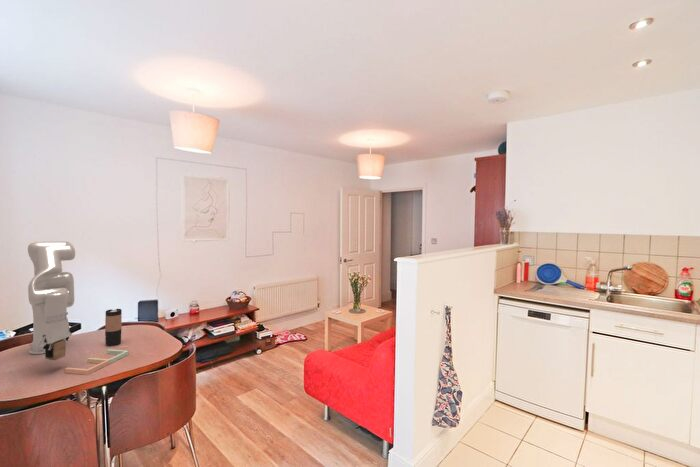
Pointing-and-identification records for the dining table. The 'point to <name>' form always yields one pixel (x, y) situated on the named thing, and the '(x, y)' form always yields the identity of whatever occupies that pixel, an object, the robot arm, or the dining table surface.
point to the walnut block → (58, 350)
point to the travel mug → (113, 327)
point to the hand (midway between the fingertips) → (55, 354)
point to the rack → (100, 362)
